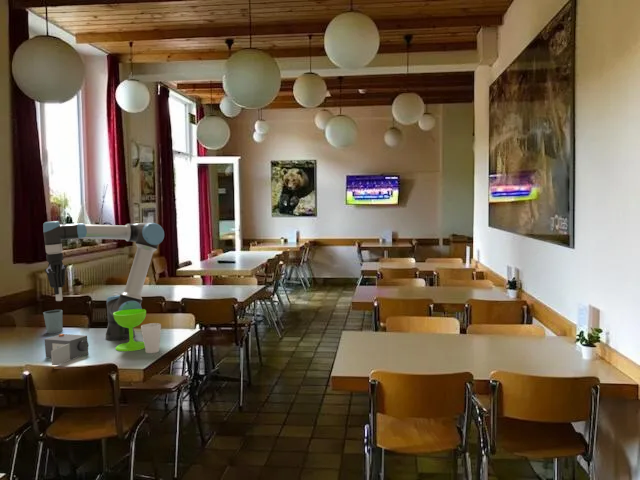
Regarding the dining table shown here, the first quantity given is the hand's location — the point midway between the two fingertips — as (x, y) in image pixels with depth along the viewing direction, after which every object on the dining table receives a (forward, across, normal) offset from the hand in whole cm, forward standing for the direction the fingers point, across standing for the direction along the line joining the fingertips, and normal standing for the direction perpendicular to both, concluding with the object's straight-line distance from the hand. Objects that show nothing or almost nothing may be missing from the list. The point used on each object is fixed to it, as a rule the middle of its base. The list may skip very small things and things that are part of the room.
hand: (59, 300), depth 287 cm
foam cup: (+28, -7, +44) cm, 53 cm away
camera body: (+26, +5, +6) cm, 27 cm away
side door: (+26, +18, +13) cm, 34 cm away
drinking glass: (+27, -42, -41) cm, 65 cm away
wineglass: (+27, -14, +29) cm, 42 cm away
